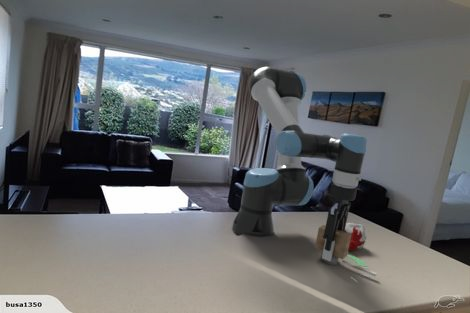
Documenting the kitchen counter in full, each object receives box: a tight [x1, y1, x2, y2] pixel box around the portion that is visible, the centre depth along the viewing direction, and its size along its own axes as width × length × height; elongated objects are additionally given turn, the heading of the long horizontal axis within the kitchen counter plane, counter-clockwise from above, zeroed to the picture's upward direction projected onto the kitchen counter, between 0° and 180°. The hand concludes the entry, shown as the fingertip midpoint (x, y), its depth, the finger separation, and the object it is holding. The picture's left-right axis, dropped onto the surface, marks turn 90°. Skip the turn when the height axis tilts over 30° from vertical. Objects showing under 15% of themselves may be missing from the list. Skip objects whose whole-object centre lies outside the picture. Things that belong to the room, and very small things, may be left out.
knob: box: [314, 224, 378, 277], centre depth 102 cm, size 18×5×10 cm, turn 54°
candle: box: [345, 222, 367, 251], centre depth 121 cm, size 9×11×15 cm
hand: (329, 256), depth 105 cm, fingers closed on knob, 5 cm apart
